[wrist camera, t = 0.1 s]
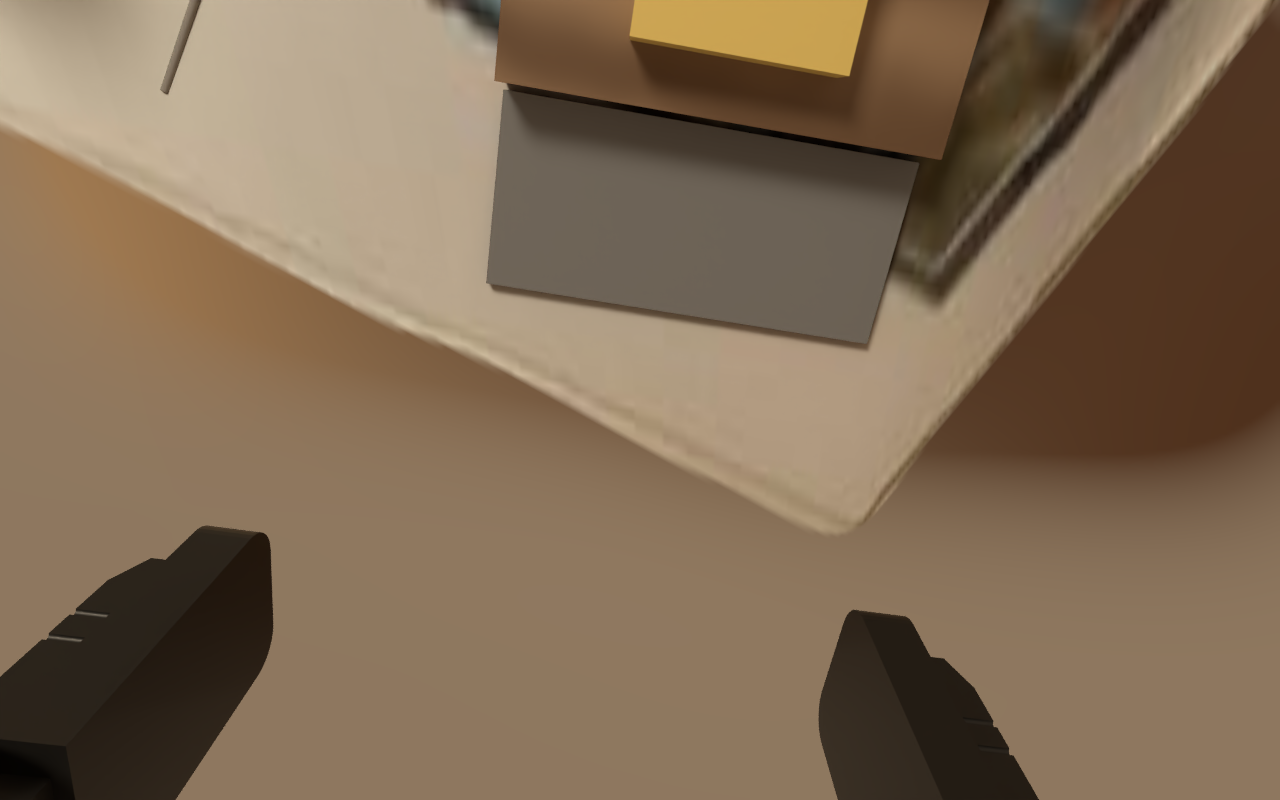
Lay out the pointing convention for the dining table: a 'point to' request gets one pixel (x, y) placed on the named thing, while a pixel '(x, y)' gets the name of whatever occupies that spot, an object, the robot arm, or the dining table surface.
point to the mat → (693, 218)
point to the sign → (180, 44)
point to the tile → (757, 30)
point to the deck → (758, 71)
